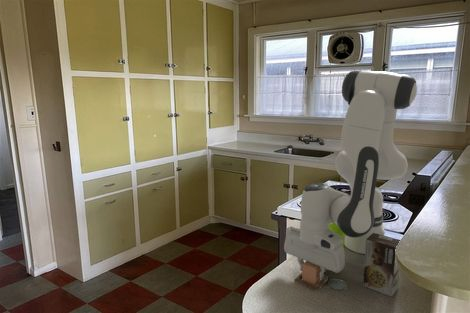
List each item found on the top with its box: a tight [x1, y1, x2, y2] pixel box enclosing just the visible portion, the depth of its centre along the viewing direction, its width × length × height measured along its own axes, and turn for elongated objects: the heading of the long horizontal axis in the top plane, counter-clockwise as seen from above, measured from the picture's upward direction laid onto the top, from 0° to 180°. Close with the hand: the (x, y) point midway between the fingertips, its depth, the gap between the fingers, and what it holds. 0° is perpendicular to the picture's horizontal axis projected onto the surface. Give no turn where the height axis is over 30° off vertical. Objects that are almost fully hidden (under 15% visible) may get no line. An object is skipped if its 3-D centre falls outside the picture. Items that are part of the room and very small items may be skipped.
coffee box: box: [362, 233, 401, 297], centre depth 104 cm, size 9×6×16 cm
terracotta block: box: [301, 261, 321, 285], centre depth 108 cm, size 4×4×6 cm
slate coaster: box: [327, 278, 347, 291], centre depth 107 cm, size 6×6×1 cm
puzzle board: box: [294, 270, 328, 291], centre depth 112 cm, size 18×8×6 cm, turn 144°
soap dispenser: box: [329, 223, 345, 250], centre depth 123 cm, size 6×7×20 cm
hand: (311, 273), depth 109 cm, fingers closed on terracotta block, 5 cm apart
